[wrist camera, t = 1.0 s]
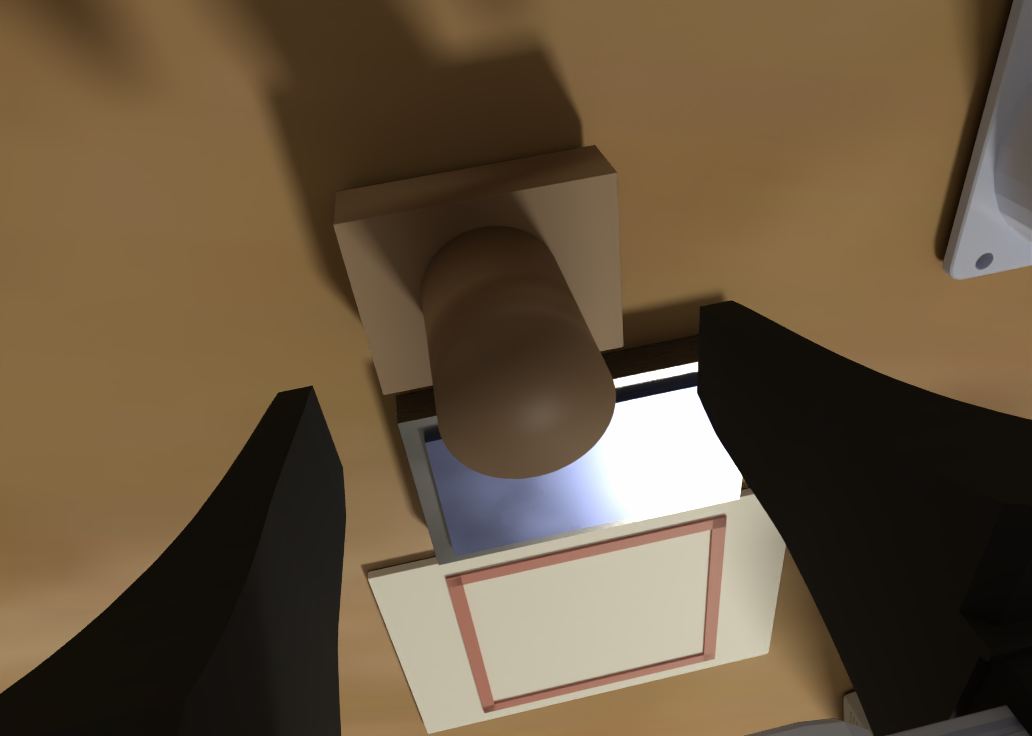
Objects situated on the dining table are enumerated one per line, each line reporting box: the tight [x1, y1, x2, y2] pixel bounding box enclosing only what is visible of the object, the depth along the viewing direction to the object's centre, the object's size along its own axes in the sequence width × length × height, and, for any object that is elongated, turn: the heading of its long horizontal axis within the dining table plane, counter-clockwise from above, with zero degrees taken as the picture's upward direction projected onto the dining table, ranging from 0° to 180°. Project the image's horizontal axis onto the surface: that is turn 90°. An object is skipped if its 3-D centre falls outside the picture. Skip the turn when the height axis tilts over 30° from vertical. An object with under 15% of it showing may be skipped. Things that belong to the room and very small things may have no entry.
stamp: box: [333, 145, 623, 479], centre depth 15 cm, size 6×4×7 cm
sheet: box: [368, 488, 786, 734], centre depth 28 cm, size 15×10×1 cm
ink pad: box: [396, 335, 742, 565], centre depth 22 cm, size 10×6×2 cm, turn 97°
